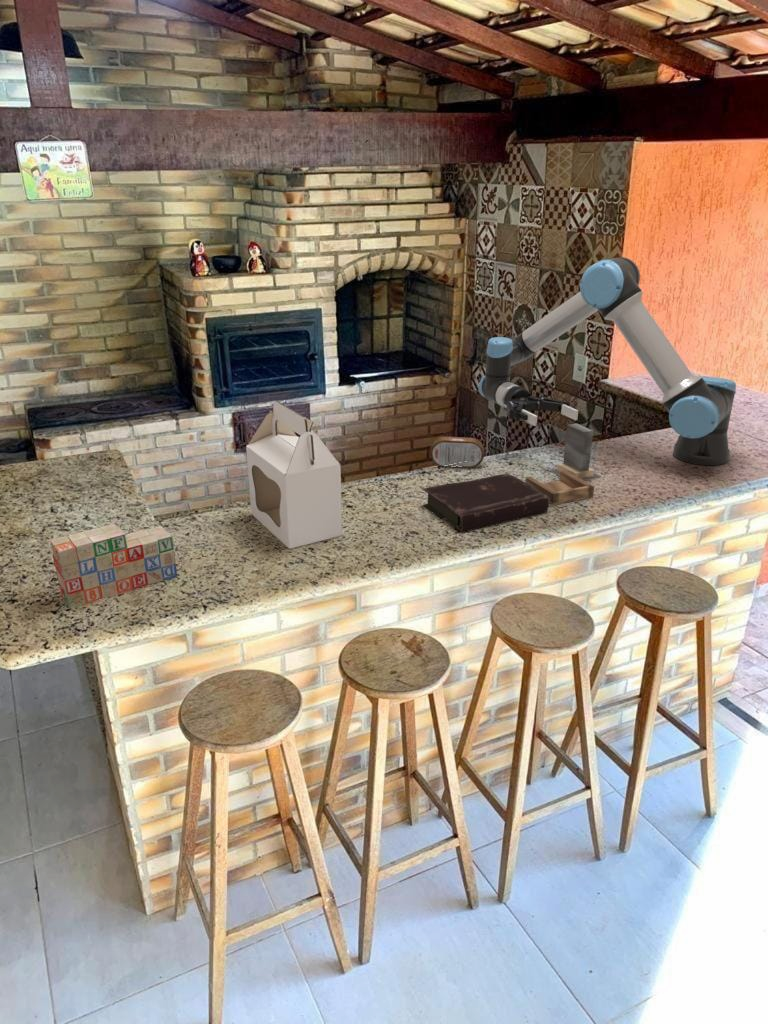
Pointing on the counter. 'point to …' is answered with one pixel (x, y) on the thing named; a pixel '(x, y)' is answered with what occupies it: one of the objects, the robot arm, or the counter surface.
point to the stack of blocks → (111, 562)
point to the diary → (485, 501)
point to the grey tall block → (577, 452)
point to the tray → (563, 488)
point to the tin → (457, 451)
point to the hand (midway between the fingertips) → (556, 418)
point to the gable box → (293, 480)
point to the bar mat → (582, 479)
